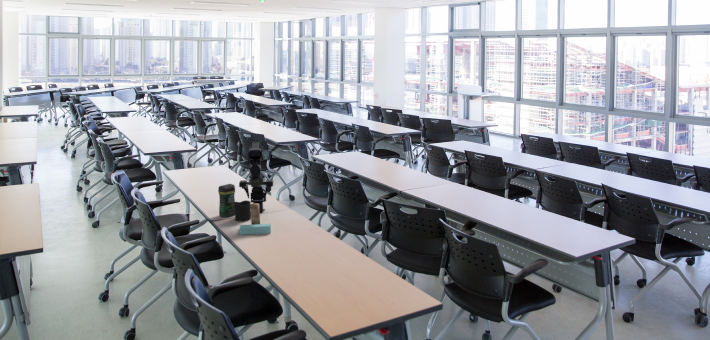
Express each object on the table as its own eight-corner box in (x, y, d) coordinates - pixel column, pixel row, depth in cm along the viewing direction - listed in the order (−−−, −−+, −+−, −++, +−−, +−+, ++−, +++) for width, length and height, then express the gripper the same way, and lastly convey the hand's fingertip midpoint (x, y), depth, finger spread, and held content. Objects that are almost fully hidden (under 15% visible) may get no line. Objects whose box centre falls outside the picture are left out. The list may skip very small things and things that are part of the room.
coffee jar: (226, 218, 315) (224, 187, 311) (217, 215, 320) (215, 185, 316) (238, 214, 323) (237, 184, 319) (230, 212, 327) (228, 182, 323)
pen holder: (247, 222, 308) (246, 205, 306) (232, 221, 310) (231, 204, 308) (253, 217, 317) (253, 200, 315) (238, 216, 319) (237, 199, 317)
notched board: (241, 227, 299) (241, 220, 298) (270, 226, 301) (270, 219, 300) (239, 234, 287) (239, 227, 286) (270, 233, 289) (270, 226, 288)
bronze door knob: (254, 226, 300) (253, 202, 297) (264, 228, 297) (263, 203, 294) (247, 230, 294) (246, 205, 291) (257, 231, 292) (256, 206, 289)
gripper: (237, 174, 297) (238, 202, 300) (271, 174, 299) (272, 201, 302) (239, 170, 308) (240, 197, 311) (272, 169, 310) (273, 196, 313)
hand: (257, 198), depth 309 cm, fingers open, 9 cm apart
